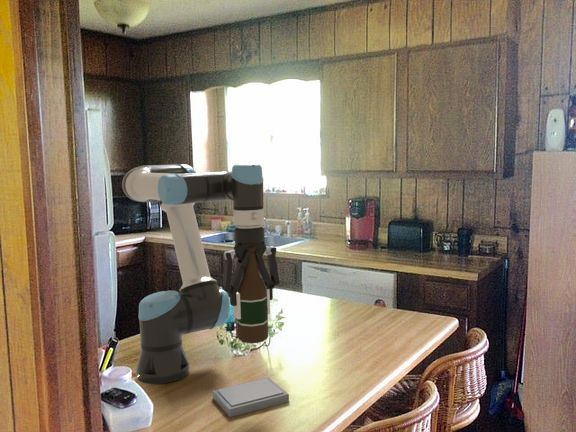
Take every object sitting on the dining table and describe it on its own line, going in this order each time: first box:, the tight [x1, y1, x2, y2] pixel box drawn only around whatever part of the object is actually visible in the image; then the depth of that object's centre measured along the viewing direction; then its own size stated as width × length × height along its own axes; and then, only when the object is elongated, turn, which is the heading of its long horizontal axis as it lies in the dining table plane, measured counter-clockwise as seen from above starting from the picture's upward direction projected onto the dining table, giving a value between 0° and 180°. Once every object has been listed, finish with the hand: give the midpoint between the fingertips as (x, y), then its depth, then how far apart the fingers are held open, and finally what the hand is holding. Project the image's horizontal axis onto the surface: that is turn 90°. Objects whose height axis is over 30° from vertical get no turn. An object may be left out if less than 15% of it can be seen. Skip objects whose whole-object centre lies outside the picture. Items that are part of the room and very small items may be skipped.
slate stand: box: [212, 377, 290, 418], centre depth 137 cm, size 12×16×2 cm
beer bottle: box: [236, 246, 269, 345], centre depth 136 cm, size 8×8×24 cm
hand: (252, 315), depth 136 cm, fingers closed on beer bottle, 7 cm apart
